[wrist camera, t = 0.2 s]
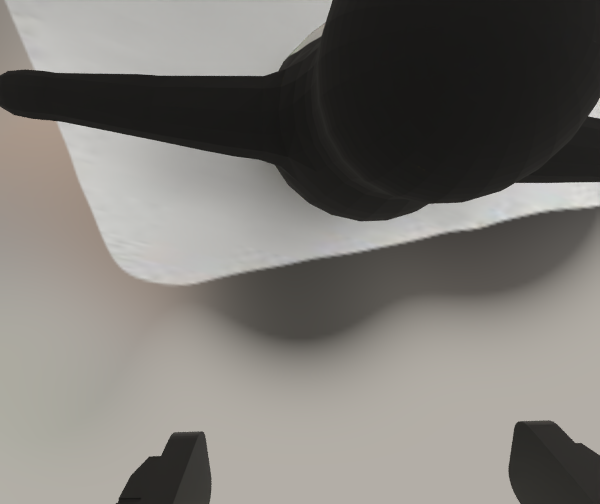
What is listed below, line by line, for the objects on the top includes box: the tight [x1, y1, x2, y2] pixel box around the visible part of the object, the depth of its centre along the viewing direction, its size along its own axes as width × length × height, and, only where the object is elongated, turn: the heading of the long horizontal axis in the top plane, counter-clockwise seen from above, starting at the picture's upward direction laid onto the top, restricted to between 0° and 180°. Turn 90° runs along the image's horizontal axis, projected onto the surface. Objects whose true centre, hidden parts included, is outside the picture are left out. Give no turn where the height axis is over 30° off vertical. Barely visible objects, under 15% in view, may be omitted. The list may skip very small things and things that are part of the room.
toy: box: [0, 0, 600, 221], centre depth 20 cm, size 37×12×30 cm, turn 85°
